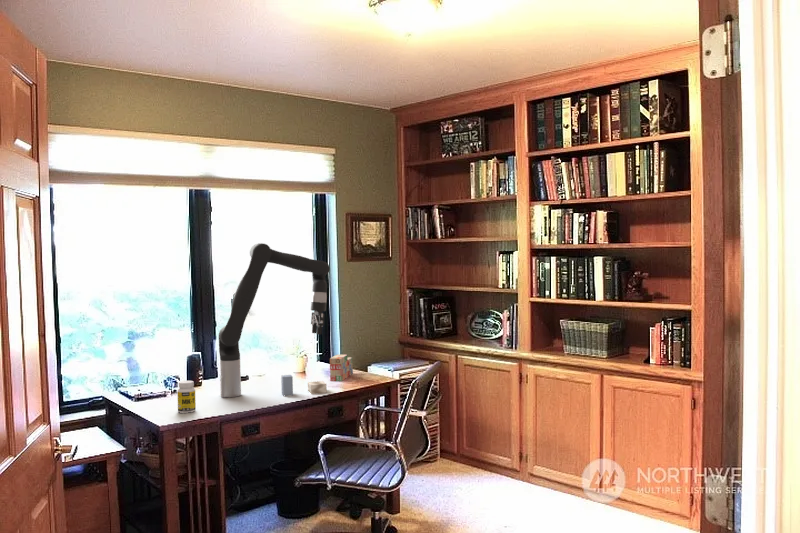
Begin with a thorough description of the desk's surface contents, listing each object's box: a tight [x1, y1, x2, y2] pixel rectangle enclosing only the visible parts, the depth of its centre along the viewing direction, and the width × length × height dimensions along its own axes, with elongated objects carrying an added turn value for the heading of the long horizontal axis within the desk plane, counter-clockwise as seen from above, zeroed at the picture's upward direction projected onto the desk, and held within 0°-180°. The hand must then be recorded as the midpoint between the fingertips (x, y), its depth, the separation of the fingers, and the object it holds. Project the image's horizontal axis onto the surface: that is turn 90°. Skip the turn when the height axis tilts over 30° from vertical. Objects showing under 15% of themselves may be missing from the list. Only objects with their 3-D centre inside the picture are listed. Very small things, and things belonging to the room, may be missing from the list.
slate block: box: [280, 374, 294, 397], centre depth 310 cm, size 4×4×9 cm
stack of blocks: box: [329, 353, 354, 382], centre depth 350 cm, size 21×6×12 cm, turn 168°
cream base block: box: [307, 380, 328, 395], centre depth 315 cm, size 8×8×4 cm
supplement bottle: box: [177, 380, 196, 414], centre depth 281 cm, size 7×7×13 cm
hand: (316, 333), depth 326 cm, fingers open, 8 cm apart
